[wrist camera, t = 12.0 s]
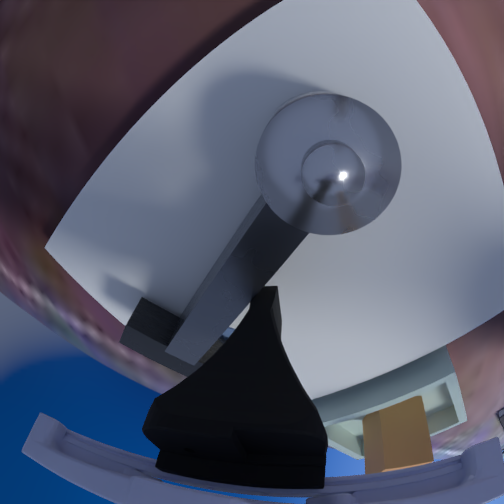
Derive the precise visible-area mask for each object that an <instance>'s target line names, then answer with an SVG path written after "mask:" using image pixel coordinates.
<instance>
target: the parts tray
mask: <svg viewBox="0 0 504 504" xmlns="http://www.w3.org/2000/svg"><path fill="white" fill-rule="evenodd" d="M414 396H422V400H423V404H424V409H425V414H426V419H427V424H428V429H429V434H430V437H431V436H433V435H436V434H438V433H441V432H443V431H445V430H448V429H450V428H452V427H454V426H457V425H459V424H461V423H463V422H465V421H467V417H466V412H465V408H464V404H463V399H462V395H461V392H460V388H459V384H458V380H457V377H456V373H455V370H454V367H453V364H452V361H451V359H450V356H449V353H448V350H447V348H446V345H444V346H442V347H440V348H439V349H437V350H435V351H433V352H431V353H429V354H427V355H425V356H422V357H420V358H418V359H416V360H414V361H412V362H410V363H408V364H405V365H403V366H401V367H399V368H396V369H394V370H392V371H389V372H387V373H385V374H382V375H380V376H377V377H375V378H372V379H370V380H367V381H365V382H362V383H359V384H357V385H354V386H351V387H349V388H346V389H343V390H340V391H337V392H334V393H331V394H328V395H325V396H322V397H319V398H316V399H312V402H313V403H314V405H315V406H316V408H317V410H318V413H319V415H320V417H321V420H322V422H323V425H324V427H325V430H326V433H327V437H328V445H329V446H331V447H333V448H335V449H337V450H339V451H341V452H343V453H345V454H347V455H349V456H351V457H353V458H355V459H357V460H358V459H362V458H365V455H364V439H363V425H362V420H363V419H364V417H365V416H366V415H367V414H369V413H372V412H375V411H378V410H381V409H384V408H386V407H389V406H392V405H394V404H397V403H399V402H402V401H404V400H407V399H409V398H412V397H414Z"/></svg>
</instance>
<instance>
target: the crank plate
mask: <svg viewBox="0 0 504 504" xmlns="http://www.w3.org/2000/svg"><path fill="white" fill-rule="evenodd" d="M311 91H328V92H333V93H337V94H340V95H344V96H347V97H350V98H353V99H356V100H358V101H360V102H362V103H364V104H366V105H368V106H369V107H371V108H372V109H374V110H375V111H376V112H377V113H378V114H379V115H380V116H381V117H383V119H384V120H385V121H386V122H387V124H388V125H389V126H390V128H391V130H392V131H393V133H394V135H395V137H396V139H397V142H398V145H399V149H400V153H401V163H402V170H401V177H400V182H399V185H398V188H397V191H396V193H395V196H394V197H393V199H392V201H391V202H390V204H389V205H388V207H387V208H386V209H385V210H384V211H383V212H382V213H381V214H380V215H379V216H378V217H377V218H376V219H375V220H373V221H372V222H371V223H369V224H367V225H366V226H364V227H362V228H360V229H358V230H355V231H352V232H349V233H344V234H339V235H319V234H312V233H309V234H308V235H307V236H306V237H305V239H304V240H303V241H302V242H301V243H300V245H299V246H298V247H297V248H296V249H295V251H294V252H293V253H292V254H291V255H290V257H289V258H288V259H287V260H286V261H285V262H284V264H283V265H282V266H281V267H280V268H279V270H278V271H277V272H276V273H275V274H274V275H273V277H272V278H271V279H270V280H269V281H268V282H267V284H266V285H265V286H278V293H279V301H280V309H281V317H282V332H281V341H282V344H283V346H284V349H285V351H286V354H287V356H288V358H289V361H290V363H291V365H292V367H293V369H294V371H295V373H296V375H297V377H298V379H299V381H300V382H301V384H302V386H303V387H304V389H305V391H306V393H307V394H308V396H309V397H310V399H311V400H312V399H316V398H319V397H322V396H325V395H328V394H331V393H334V392H337V391H340V390H343V389H346V388H349V387H351V386H354V385H357V384H359V383H362V382H365V381H367V380H370V379H372V378H375V377H377V376H380V375H382V374H385V373H387V372H389V371H392V370H394V369H396V368H399V367H401V366H403V365H405V364H408V363H410V362H412V361H414V360H416V359H418V358H420V357H422V356H425V355H427V354H429V353H431V352H433V351H435V350H437V349H439V348H440V347H442V346H444V345H446V344H448V343H450V342H452V341H454V340H455V339H457V338H459V337H461V336H463V335H464V334H466V333H468V332H470V331H471V330H473V329H475V328H476V327H478V326H480V325H481V324H483V323H485V322H486V321H488V320H489V319H491V318H492V317H494V316H496V315H497V314H499V313H500V312H502V311H503V310H504V186H503V182H502V178H501V175H500V171H499V167H498V164H497V160H496V157H495V154H494V151H493V148H492V145H491V142H490V139H489V136H488V133H487V130H486V128H485V125H484V122H483V120H482V117H481V115H480V112H479V110H478V107H477V105H476V103H475V100H474V98H473V96H472V94H471V91H470V89H469V87H468V85H467V83H466V81H465V79H464V77H463V75H462V73H461V71H460V69H459V67H458V65H457V63H456V62H455V60H454V58H453V56H452V54H451V53H450V51H449V49H448V47H447V46H446V44H445V42H444V41H443V39H442V37H441V36H440V34H439V33H438V31H437V29H436V28H435V26H434V25H433V23H432V22H431V20H430V19H429V17H428V16H427V15H426V13H425V12H424V10H423V9H422V8H421V6H420V5H419V3H418V2H417V1H416V0H283V1H281V2H280V3H278V4H277V5H275V6H273V7H272V8H270V9H269V10H267V11H266V12H264V13H263V14H261V15H260V16H258V17H257V18H255V19H254V20H252V21H251V22H250V23H248V24H247V25H245V26H244V27H243V28H241V29H240V30H238V31H237V32H236V33H234V34H233V35H232V36H230V37H229V38H228V39H227V40H225V41H224V42H223V43H221V44H220V45H219V46H218V47H216V48H215V49H214V50H213V51H211V52H210V53H209V54H208V55H207V56H205V57H204V58H203V59H202V60H201V61H199V62H198V63H197V64H196V65H195V66H194V67H193V68H191V69H190V70H189V71H188V72H187V73H186V74H185V75H184V76H183V77H181V78H180V79H179V80H178V81H177V82H176V83H175V84H174V85H173V86H172V87H171V88H170V89H169V90H168V91H167V92H166V93H165V94H164V95H163V96H162V97H161V98H160V99H159V100H158V101H157V102H156V103H155V104H154V105H153V106H152V107H151V108H150V109H149V110H148V111H147V112H146V113H145V114H144V115H143V116H142V117H141V118H140V119H139V120H138V121H137V123H136V124H135V125H134V126H133V127H132V128H131V129H130V130H129V131H128V133H127V134H126V135H125V136H124V137H123V138H122V139H121V141H120V142H119V143H118V144H117V145H116V147H115V148H114V149H113V150H112V151H111V153H110V154H109V155H108V156H107V158H106V159H105V160H104V161H103V163H102V164H101V165H100V166H99V168H98V169H97V170H96V172H95V173H94V174H93V175H92V177H91V178H90V179H89V181H88V182H87V184H86V185H85V186H84V188H83V189H82V190H81V192H80V193H79V195H78V196H77V198H76V199H75V200H74V202H73V203H72V205H71V206H70V208H69V209H68V211H67V212H66V214H65V215H64V217H63V218H62V220H61V221H60V223H59V225H58V226H57V228H56V229H55V231H54V233H53V234H52V236H51V238H50V239H49V241H48V243H47V244H46V246H45V249H46V250H47V251H48V252H49V253H50V254H51V255H52V256H53V257H54V258H55V260H56V261H57V262H58V263H59V264H60V265H61V266H62V267H63V268H64V269H65V270H66V271H67V272H68V273H69V274H70V275H71V276H72V277H73V278H74V279H75V280H76V281H77V282H78V283H79V284H80V285H81V286H82V287H83V288H84V289H85V290H86V291H87V292H88V293H89V294H90V295H91V296H92V297H93V298H95V299H96V300H97V301H98V302H99V303H100V304H101V305H102V306H103V307H104V308H105V309H106V310H108V311H109V312H110V313H111V314H112V315H113V316H114V317H115V318H117V319H118V320H119V321H120V322H121V323H122V324H124V325H125V326H126V324H127V322H128V320H129V319H130V317H131V315H132V313H133V311H134V310H135V308H136V306H137V304H138V303H139V301H140V299H141V297H143V298H145V299H147V300H148V301H150V302H152V303H154V304H156V305H157V306H159V307H161V308H163V309H165V310H167V311H169V312H170V313H172V314H174V315H176V316H178V317H180V316H181V314H182V313H183V311H184V310H185V308H186V306H187V305H188V303H189V302H190V300H191V299H192V297H193V296H194V294H195V293H196V291H197V289H198V288H199V286H200V285H201V283H202V282H203V280H204V279H205V277H206V276H207V274H208V273H209V271H210V270H211V268H212V267H213V265H214V264H215V262H216V261H217V259H218V258H219V256H220V255H221V253H222V252H223V250H224V249H225V247H226V246H227V244H228V243H229V241H230V240H231V238H232V237H233V235H234V234H235V232H236V231H237V229H238V228H239V226H240V225H241V223H242V222H243V220H244V219H245V217H246V216H247V214H248V213H249V211H250V210H251V208H252V207H253V205H254V204H255V203H256V201H257V200H258V198H259V197H260V195H261V192H260V189H259V186H258V183H257V179H256V174H255V156H256V150H257V146H258V143H259V140H260V138H261V135H262V133H263V131H264V129H265V127H266V125H267V123H268V121H269V120H270V118H271V116H272V115H273V113H274V112H275V111H276V110H277V109H278V108H279V107H280V106H281V105H282V104H283V103H284V102H286V101H287V100H289V99H291V98H292V97H294V96H297V95H299V94H302V93H306V92H311ZM249 306H250V303H249V304H248V306H247V307H246V308H245V309H244V310H243V311H242V312H241V314H240V315H239V316H238V317H237V318H236V319H235V320H234V322H233V323H232V324H231V325H230V326H229V327H228V328H227V329H226V331H225V332H224V333H223V334H222V335H221V336H220V338H222V339H224V340H227V339H228V338H229V337H230V335H231V334H232V333H233V331H234V330H235V329H236V327H237V326H238V325H239V323H240V322H241V321H242V319H243V318H244V316H245V315H246V313H247V311H248V310H249Z"/></svg>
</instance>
